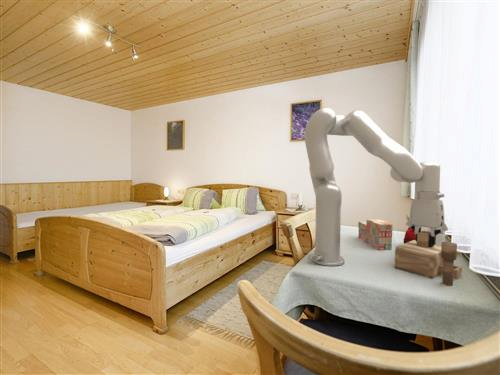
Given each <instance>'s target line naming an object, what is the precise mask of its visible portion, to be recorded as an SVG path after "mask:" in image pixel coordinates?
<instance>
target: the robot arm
mask: <svg viewBox="0 0 500 375" xmlns="http://www.w3.org/2000/svg"><path fill="white" fill-rule="evenodd" d="M304 129H305V130H304V144H305V148H306V154H307V157H308V158H307V159H308V163H309V167H308V168H309V175H310V178H311V182H312V186H313V187H312V188H313V190H314V195H315V240H314V241H315V248H314V249H313V253H311V254H308V255H307V259H308V260H309V261H310V260H311V261H312V262H314V263H315V264H318V265H321V266H322V265H323V266H327V267H328V266H329V267H331V266H333V267H334V266H340V265H343V264H345V258H344V257H343V256H342V255H341V217H342V216H341V214H342V211H341V210H342V198H343V194H342V191H341V189H340V187H339V186H338V185H337V183H336V178H335V175H334V169H335V166H334V162H333V159H332V156H331V151H330V147H329V142H328V135H329V136H340V137H341V136H344V137H345V136H346V137H350V136H351V137H353V138H355V140H356V141H357V142H358V143H359V144H360V145H361V146H362V147H363V148H364V150H366V151H367V153H369V154H371V155H372V156H375V157H377V158H379V159H381V160H382V161H384V162H385V163H386V164H387V165H388V166H390V167H391V168H390V175H389V176H390V177H391V178H392V179H393V181H396V182H398V183H409V184H412V183H414V198H413V199H412V202H411V204H410V210H409V217H410V218H409V220H407V221H406V223H405V225H406V226H407V227H408V228H409V227H410V228H411V229H412V230H413V231H414V232H415V234H416V242H417V233H418V232H421V231H422V230H423V229H422V228H428V227H429V228H430V233H431V234H430V236H429V247H433V246H434V245H435V244H436V235H438V234H439V233H441V232H444V231H445V232H446V231H448V230H449V227H448V226H447V224H446V223H445V208H444V203H443V200H442V199H441V198H445V193H442V192H441V190H440V189H441V188H440V187H441V186H440V185H441V182H440V181H441V164H440V163H439V162H435V161H429V162H428V161H426V162H425V161H424V162H419V161H418V160H417V159H416V157H414V156H413V155H412V154H411V153H410V151H408V150H407V149H406V148H405V147H404V146H402V145H401V144H399V143H398V142H396V141H395V140H394V139H393V138H391V137H390V136H388V135H387V133H385V132H384V131H383V130H382V128H380V127H379V125H378V124H376V123H375V121H374V120H372V119H371V118H370V116H369V115H368V114H366V112H364V111H363V110H360V109H359V110H358V109H356V110H352V111H351V112H349V113H347V114H342V115H341V114H336V112H335V110H333V109H332V108H331V107H328V106H327V107H326V106H325V107H322V108H319V109H317V110H316V111H315V112H314V113H313V114H312V115H311V116H310V117H309V119H308V121H307V123H306V126H305V128H304ZM439 227H441V229H438V230H437V228H439Z"/></svg>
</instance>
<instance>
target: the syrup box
mask: <svg viewBox="0 0 500 375" xmlns="http://www.w3.org/2000/svg"><path fill="white" fill-rule="evenodd" d="M438 229H441V227H439V228H437V230H438ZM427 231H430V228H429V227H427ZM445 232H446V231H444V232H441V233H439V234H438V235H436V244H440V245H442V242H446V240H445V239H446V233H445Z"/></svg>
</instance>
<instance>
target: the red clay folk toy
mask: <svg viewBox="0 0 500 375" xmlns="http://www.w3.org/2000/svg"><path fill="white" fill-rule="evenodd" d="M409 218H410V216H408V215H407V214H406V219H407V221H408V220H409ZM413 240H416V234H415V232H414V231H413V230H412V229H411V228H410V227H409V226H408V228H407V230H406V231H405V233H404V238H403V244H405V243H407V242H410V241H413Z"/></svg>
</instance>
